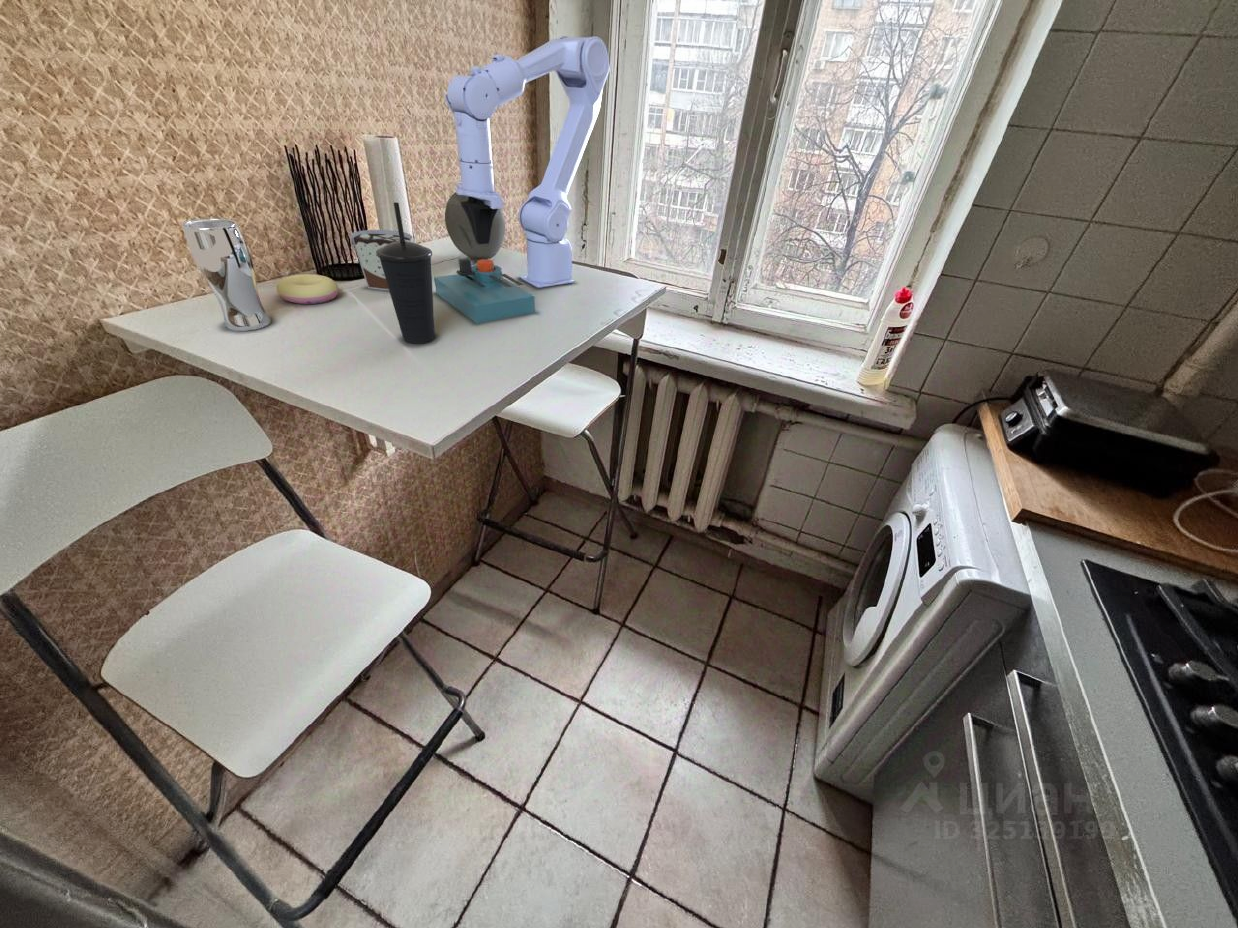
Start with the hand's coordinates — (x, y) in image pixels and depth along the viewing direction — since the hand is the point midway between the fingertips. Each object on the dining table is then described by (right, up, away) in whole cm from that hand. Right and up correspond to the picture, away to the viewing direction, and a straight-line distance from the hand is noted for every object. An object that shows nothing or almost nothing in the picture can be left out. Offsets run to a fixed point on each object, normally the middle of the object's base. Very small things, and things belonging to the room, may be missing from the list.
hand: (482, 243), depth 94 cm
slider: (-2, -7, -3) cm, 8 cm away
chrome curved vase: (-34, -20, -15) cm, 42 cm away
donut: (-31, -12, -4) cm, 33 cm away
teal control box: (0, -11, +1) cm, 11 cm away
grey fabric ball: (-8, +7, +25) cm, 27 cm away
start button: (0, -4, +2) cm, 5 cm away
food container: (-19, -7, +5) cm, 20 cm away
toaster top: (+2, -8, -3) cm, 9 cm away
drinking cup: (-6, -23, -15) cm, 28 cm away
